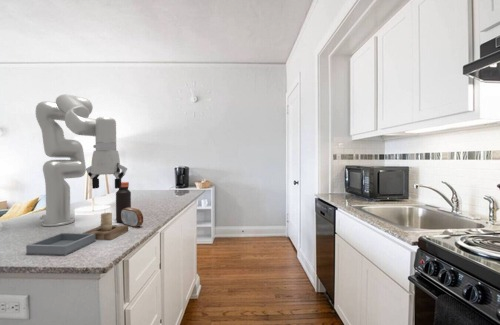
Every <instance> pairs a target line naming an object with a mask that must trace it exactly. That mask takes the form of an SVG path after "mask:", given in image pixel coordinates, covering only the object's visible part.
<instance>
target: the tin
mask: <svg viewBox="0 0 500 325" xmlns="http://www.w3.org/2000/svg"><path fill="white" fill-rule="evenodd" d="M121 220H122V222H123V223H122V224H124V225H128V227H133V228H137V227H141V226H142V225H143V223H144V215H143V213H142V211H141V210H140V209H139V208H134V207H131V208H130V207H127V208H124V209H122V211H121Z"/></svg>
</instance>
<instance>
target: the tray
mask: <svg viewBox="0 0 500 325" xmlns="http://www.w3.org/2000/svg"><path fill="white" fill-rule="evenodd" d="M96 241H97V240H96V234H89V233H84V232H81V233H80V232H79V233H78V232H77V233H76V232H60V233H57V234H55V235H51V236H48V237H47V238H43V239H41V240H37V241H35V242H32V243H29V244H27V245H25V247H26V248H25V252H26V253H25V254H26V255H37V256H40V255H41V256H42V255H43V256H68V255H70V254H72V253H74V252H77V251H78V250H80V249H83V248H85V247H86V246H87V247H88V246H89V245H91V244H93V243H95V242H96Z"/></svg>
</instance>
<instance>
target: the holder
mask: <svg viewBox="0 0 500 325" xmlns="http://www.w3.org/2000/svg"><path fill="white" fill-rule="evenodd" d="M127 232H128V233H129V226H128V225H125V224H124V225H121V224H120V225H119V224H118V225H117V224H115V225H114V224H112V230H110V231H101V225H99V226H96V227H94V228H91V229H89V230H87V231H84V232H83V233H89V234H96V241H97V240H98V241H99V240H101V241H102V240H104V241H112V240H114V239H116V238H118V237H120V236H122V235H124V234H125V233H127Z"/></svg>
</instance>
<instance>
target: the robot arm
mask: <svg viewBox="0 0 500 325" xmlns="http://www.w3.org/2000/svg"><path fill="white" fill-rule="evenodd" d="M93 106H94V105H93V104H92V102H91V100H89V99H88V98H85V97H81V96H76V95H71V94H61V95H58V96H57V97H56V98H55V101H54V102H53V101H41V102H39V103H37V105H36V106H35V118H36V121H37V124H38V125H39V127H40V130H41V135H42V143H43V144H42V145H43V149H44V154H45V155H46V156H47V157H49V158H55V159H50V160H47V161H45V162H44V164H43V165H42V172H43V177H44V184H45V214H42V215H41V216H40V217H39V220H43V222H41V226H42V227H59V226H60V227H61V226H64V225H69V224H71V223H74V222H75V219H74V218H73V217H71V187H70V185H69V183H68V182H67V181H66V180H65V179H77V178H78V179H79V178H82V177H84V176H85V174H86V172H87V175H88V176H89V178H90V180H91V186H92V190H93V189H94V190H95V189H99V188H100V178H99V177H100V175H103V176H104V175H113V176H114V177H115V178H114V189H119V188H121V182H122V179H123V177H124V176H125V175H126V173H127V170H128V167H127V166H124V165H123V164H121V160H120V155H119V154H120V153H119V151H118V150H117V121H116V119H114V118H112V117H106V116H105V117H104V116H103V117H102V116H101V117H100V116H99V117H97V118H91V117H90V115H91V114H92V112H93ZM56 121H61V122H62V121H63V122H64V123H65V126H66V128H67V129H68V130H70V132H72V133H73V134H75V135H78V136H85V137H95V144H94V145H93V148H94V149H95V150H93V153H92V156H91V165H90V166H88V167H87V168H86V166H87V165H86V159H85V152H84V148H83V145H82V143H81V142H80V141H79V140H76V139H66V138H65V134H64V130H63V128H62V126H61V125H60V124H59V122H56ZM56 158H59V159H56ZM61 158H62V159H61ZM63 158H64V159H63ZM65 158H67V159H65Z"/></svg>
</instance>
